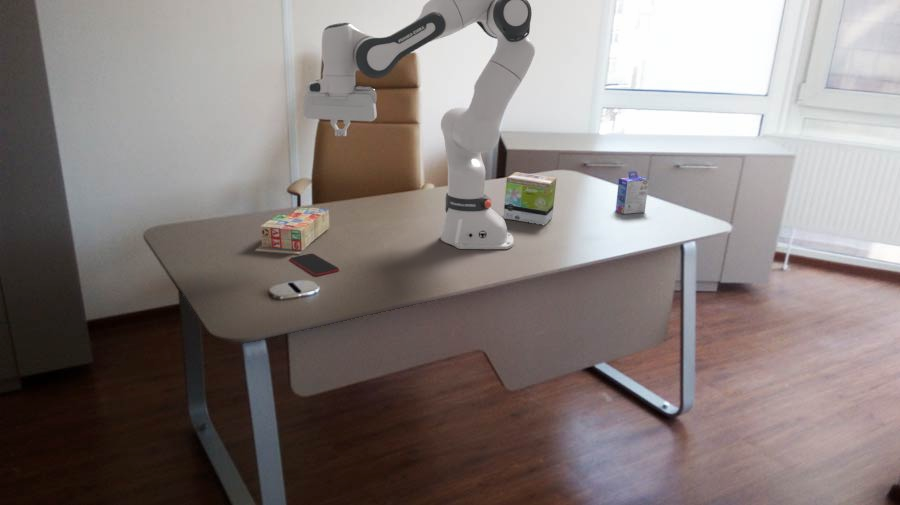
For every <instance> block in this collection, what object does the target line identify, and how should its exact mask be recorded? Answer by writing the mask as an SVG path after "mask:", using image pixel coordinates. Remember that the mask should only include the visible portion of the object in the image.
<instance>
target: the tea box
mask: <svg viewBox="0 0 900 505" xmlns="http://www.w3.org/2000/svg"><path fill="white" fill-rule="evenodd" d="M505 183H506V184H505V194H504V205H503V219H504V220H512V221H513V220H514V221H518V222H523V223H528V222H529V224H534V223H537V224H536V225H539V224H544V225H545V224H546V223H547V222H548V221H549V220H552V218H553V214H554V213H553V212H554V207H555V206H554V204H555V196H556V186H557V177H553V176H546V175H540V174H533V173H525V172H518V171H515V172H513V173H512V174H511V175H509V176H507V177H506V182H505ZM549 222H550V221H549ZM549 222H548V223H549ZM548 223H547V224H548ZM547 224H546V225H547ZM544 225H543V226H544ZM546 225H545V226H546Z"/></svg>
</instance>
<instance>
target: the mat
mask: <svg viewBox="0 0 900 505" xmlns="http://www.w3.org/2000/svg"><path fill="white" fill-rule="evenodd" d="M308 246H309V247H310V244H309V245H308ZM308 246H307V247H306V248H305V249H303V250H302V251H298V250H291V249H279V248H272V247H263V246H262V244H260V245H259V246H257V248H256V249H255V250H254V252H256V253H270V254H282V255H293V256H294V255H297V256H301V255H302V253H303V252H304V251H305V250H306V249H307V248H308Z"/></svg>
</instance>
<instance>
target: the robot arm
mask: <svg viewBox="0 0 900 505" xmlns="http://www.w3.org/2000/svg"><path fill="white" fill-rule="evenodd" d="M531 19H532V7H531V3H530V2H529V1H528V0H429V1H428V2H426V3H425V4H424V5H423V7H422V10H421V12H420V14H419V16H418V17H417V18H416V20H414V21H413V22H411V23H410V24H408V25H406V26H404V27H403V28H401V29H399V30H397V31H396V32H394V33H392V34H391V35H388V36H383V37H375V36H372V35H370V34H367V33H366V32H363V31H362V30H360V29H358V28H357V27H356V26H353V24H351V23H349V22H340V23H334V24H329V25H328V26H326V27H325V28H324V29H323V32H322V37H321V59H322V62H323V70H322V78H321V79H317V80H315V81H312V82H309V83H307V84H306V85H305V90H306V92H307V93H305V95H304V96H303V104H302V113H303V116H304V117H305V119H307V120H308V119H312V120H328V121H329V120H330V125H331V127H332V128H333V130H334V136H335V137H347V133H348V131H347V129H349V126H350V125H351V121H357V122H359V121H360V122H373V121H375V120H376V119H377V114H378V113H377V105H376V103H377V99H378V97H377V96H378V95H377V94H378V93H377V91H376V90H375V88H372V87H371V86H359V85H356V73H357V71H360V72H361V73H362V74H363V75H364V76H366V77H367V78H370V79H381V78H384V77H386V76H388V75H389V74H390V73H391V72H392V71H393V69H394V68H395V66H397V64H398V63H399V62H400V61H401V60H402V59H403V58H405V57H406V56H408V55H409V54H411V53H413V52H414V51H416V50H418V49H419V48H421V47H423V46H426V45H427V44H428V43H430V42H433V41H436V40H439V39H443V38H445V37H448V36H451V35H453V34H455V33H457V32H459V31H461V30H463V29H465V28H466V27H468V26H470V25H473V24H474V23H476V24H477V25H478V26H479V27H480V28H481V29H482V32H484V33H485V34H486V35H487V36H488V37H490V38H493V39H496V40H497V43H496V44H497V45H496V48H495V51H494V53H493V54H492V56H491V58H489V61H487V63H486V65H485V67H484V68H483V69H482V72H481V73H480V75H479V76H478V78H477V80H476V81H475V83H474V88H473V95H472V98H471V101H470V104H469V107H455V108H451V109H449V110H446V112H445V113H444V114H443V116H442V118H441V120H440V129H441V131H442V134H443V139H444V146H445V153H446V160H447V192H446V195H445V199H444V209H445V219H444V224H443V227H442V230H441V234H440V236H439V238H440V240H441V241H442V242H444V243H445V244H449V245H452V246H454V247H455V248H456V249H458V250H460V249H461V250H509V249H511V248H512V247H513V246H514V242H515V240H514V236H513V235H512V233H510V232H508V226H507V224H506V223H507V222H506V221H505V220H506V219H504V217H502V216H501V215H500V214H498V213H497V212H496V211H495V210H493V209H492V208H491V206H492V201H491V200H492V198H491V197H490V196H489V195H486V193H485V187H486V186H485V185H486V167H485V164H484V162H483V158H482V154H487V153H489V152H491V151H493V150H494V149H495V148H496V147H497V145H498V143H499V141H500V135H501V134H500V126H501V123H502V121H503V117H504V113H505V111H506V109H507V106H508V105H509V103H510V101H511V99H512V98H513V96H514V95H515V93H516V91H517V90H518V88H519V86H520V85H521V83H522V81H523V79H524V78H525V77H526V74H527V73H528V70H529V68H530V66H531V64H532V61H533V59H534V56H535V53H536V49H535V48H536V47H535V45H534V44H533V42H532V41H531V40H530V39H529V38H528V36H529V35H530V31H531V30H530V27H531V21H532V20H531ZM338 121H342V122H343V125H344V127H343V128H339V126H338V124H337V123H338Z"/></svg>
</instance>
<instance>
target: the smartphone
mask: <svg viewBox="0 0 900 505" xmlns="http://www.w3.org/2000/svg"><path fill="white" fill-rule="evenodd" d="M289 261H290V262H292V263H293V264H294V265H296V266H298V267H299V268H301V269H303V270H305V271H307V273H309V274H311V275H313V276H314V277H320V276H325V275H329V274H332V273H338V272H339V271H340V267H337V266H336V265H334V264H332V263H330V262H329V261H327V260H325V259H323V258H322V257H320V256H319V255H317V254H315V253H308V254H300V255H297V256H292V257H290V258H289Z"/></svg>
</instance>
